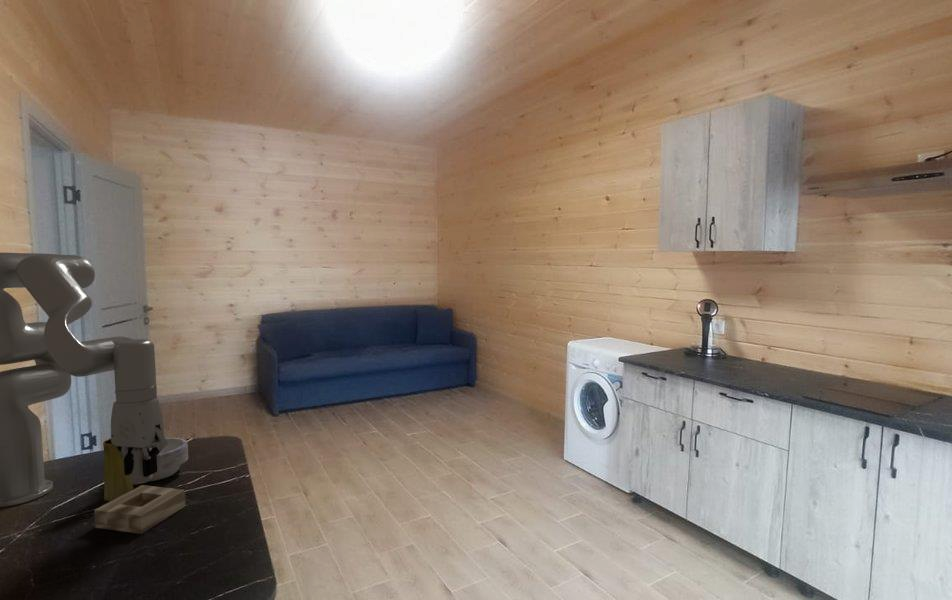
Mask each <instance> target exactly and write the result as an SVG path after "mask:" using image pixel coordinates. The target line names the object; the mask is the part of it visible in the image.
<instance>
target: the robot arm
mask: <svg viewBox="0 0 952 600" xmlns="http://www.w3.org/2000/svg"><path fill="white" fill-rule="evenodd" d="M95 276H96V273H95V269H94V267H93V265H92V264H91V262H90V261H89V260H87V258H85V257H83V256H80V255H77V254H57V253H39V252H37V253H34V252H32V253H30V252H29V253H28V252H27V253H26V252H0V366H2V365H3V366H4V365H10V364H11V365H14V364H17V363H24V362H31V361H34V363H35V364H33V365H30V366H22V367H18V368H17V367H16V368H12V369H7V370H2V371H1V370H0V508H4V507H5V508H6V507H10V506H16V505H21V504H24V503H28V502H31V501H33V500H36V499H39V498H40V497H43V496H45V495H47V494H48V493H50V492H51V491H52V490H53V488H54V482H53V481H52V480H49V479H45V468H44V467H45V465H44V464H45V463H44V451H43V450H44V449H43V436H42V435H43V433H42V432H43V431H42V422H41V420H40V418H39V417H38V415H37V414H35V413H34V412H33V411H32V410H31V409H30V407H29V406H32V405H34V404H39V403H42V402H43V403H44V402H47V401H50V400H51V401H52V400H54V399H57V398H60V397H63V396H65V395H66V394H67V393H68V392H69V391H70V389H71V386H72V376H73V377H81V378H83V377H88V376H94V375H97V374H102V373H106V372H111V371H114V386H115V387H114V394H115V401H114V402H113V404H112V409H111V414H110V415H111V416H110V438H111V443H112V444H114V445H115V446H116V447H117V449H118V450H119V451H120V452H121V457H122V458H124V473H125V475H129V474H131V473H132V471H133V466H134V459H133V457H134V455H133V454H132V453H131V451H132V450H133V448H142V449H143V453H144V457H145V459H144V460H143V461H142V463H143V476H144V477H148V476H150V475H152V474H154V473H156V472H157V455H159V452H160V451H161V450H162V449H163V448H165V447H166V446H167V445H168V442H167V440H166V439H165V438H166V437H165V426H164V424H165V423H164V417H163V411H162V407H161V404H160V399H159V398H158V389H157V371H156V369H157V368H156V355H155V354H156V353H155V345H154V342H153V341H152V340H150V339H147V338H145V339H144V338H136V339H135V338H130V337H126V336H111V337H106V338H99V339H98V338H97V339H92V340H84V341H83V340H82V341H79V340H78V339H77V337H76V336H74V334H73V333H72V331H71V330H70V328H69V326H68V325H70V324H71V323H74V322H75V321H77V320H79V319H81V318H83V316H85V315H86V314H88V312H89V311H90V309H91V308H92V306H93V302H92V299H91V297H90V295H89V294H87V292H86V291H85V290H84V289H85V288H87V287H89V286H91V285H92V284H93V283H94V281H95V279H96V278H95ZM12 288H13V289H14V288H17V289H18V288H19V289H20V288H22V289H23V288H25V289H26V290H27V292H28V293H29V294H30V295H31V297H32V298H33V299H34V300H35V302H36V303H37V304H38V305H39V306H40V308H41V309H42V310H43V312H44V313H45V314H46V315H47V317H48V319H47V321H36V322H35V321H34V322H26V321H25V320H24V317H23V316H24V315H23V309H22V306H21V305H20V303H19V301H18V300H17V299H16V298H15V297H13V295H11V294H10V293H9V292H8V291H6V290H5V289H12ZM149 447H151V448H152V450H151V451H150V450H149Z"/></svg>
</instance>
